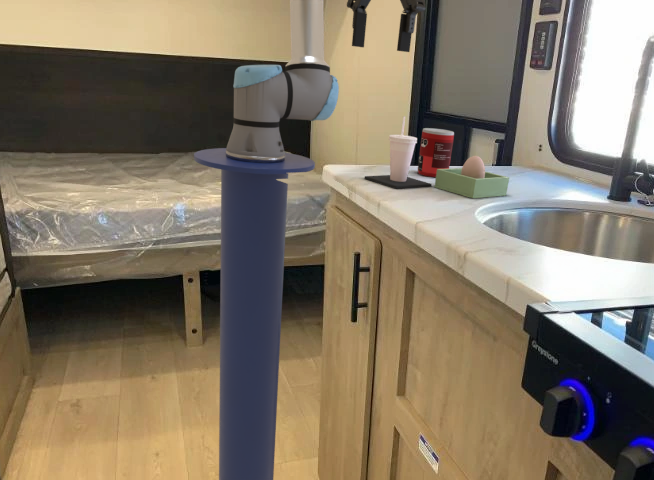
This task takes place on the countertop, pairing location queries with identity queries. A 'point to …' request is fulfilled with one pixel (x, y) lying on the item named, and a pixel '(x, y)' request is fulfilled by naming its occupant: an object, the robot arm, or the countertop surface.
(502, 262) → the countertop surface
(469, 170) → the egg
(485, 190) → the bin
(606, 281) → the countertop surface
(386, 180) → the drinks pad
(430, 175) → the canned food
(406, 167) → the smoothie
